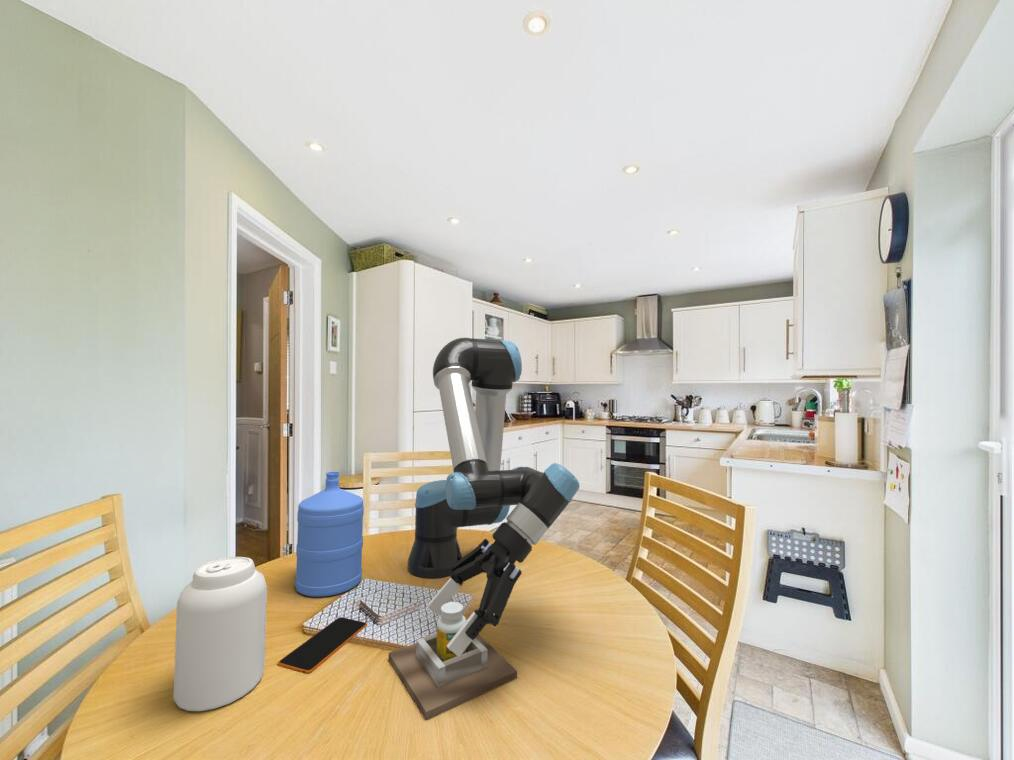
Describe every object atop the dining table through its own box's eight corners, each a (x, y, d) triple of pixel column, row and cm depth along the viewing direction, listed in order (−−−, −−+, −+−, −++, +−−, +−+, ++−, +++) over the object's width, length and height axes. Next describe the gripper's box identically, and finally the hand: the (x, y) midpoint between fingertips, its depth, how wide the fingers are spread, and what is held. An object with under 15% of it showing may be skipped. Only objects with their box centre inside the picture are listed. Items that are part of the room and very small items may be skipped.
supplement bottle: (457, 648, 79) (459, 596, 79) (471, 664, 75) (472, 609, 75) (431, 658, 76) (432, 604, 76) (443, 675, 72) (445, 618, 72)
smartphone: (368, 626, 89) (368, 622, 89) (309, 677, 73) (309, 672, 73) (339, 619, 91) (339, 615, 91) (275, 667, 75) (275, 662, 75)
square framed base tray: (388, 659, 77) (389, 636, 77) (468, 630, 87) (469, 610, 87) (426, 720, 63) (426, 691, 63) (517, 677, 73) (517, 653, 73)
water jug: (370, 587, 105) (373, 475, 106) (302, 605, 96) (306, 482, 96) (351, 565, 118) (354, 465, 118) (289, 580, 108) (292, 471, 109)
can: (163, 725, 61) (168, 587, 62) (182, 673, 73) (186, 557, 73) (262, 698, 67) (266, 572, 68) (265, 653, 78) (269, 545, 79)
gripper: (565, 571, 71) (480, 686, 64) (504, 526, 93) (437, 607, 87) (538, 543, 69) (447, 659, 62) (483, 504, 91) (412, 586, 85)
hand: (441, 629), depth 75 cm, fingers open, 13 cm apart
